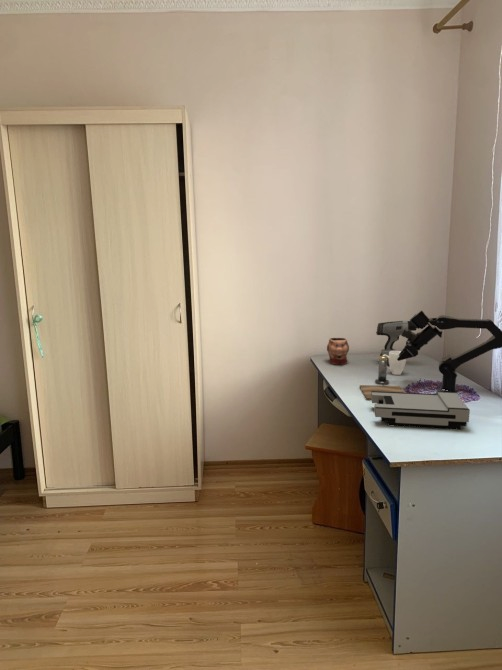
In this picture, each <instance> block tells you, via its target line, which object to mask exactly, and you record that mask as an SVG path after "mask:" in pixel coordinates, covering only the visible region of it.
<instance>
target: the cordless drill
mask: <svg viewBox="0 0 502 670" xmlns="http://www.w3.org/2000/svg"><path fill="white" fill-rule="evenodd" d="M376 327H377V328H376V331H375V333H376V335H377V336H386V337H387V341H386V342H385V345H384V348H383V349H382V350H381V351H380V354H379V356H383V355H387V356H389V352H390V351H398V350H397V349H394V344H395V342H397V341H399V339H400V336H401V334H402V332H403V331H404V329H405V328H406V329H408V330H410V331H412V332H414V331H415V332H416V331H417V329H418V328H417V327H416V326H415V325H414V324H413V323H412V322H411V321H410V320H397V321H396V320H395V321H385V322H379V323H377V326H376ZM387 367H390V365H389V359H388V357H387Z"/></svg>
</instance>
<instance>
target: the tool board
mask: <svg viewBox="0 0 502 670" xmlns="http://www.w3.org/2000/svg"><path fill="white" fill-rule="evenodd" d="M359 390H360V391H361V393H362V395H363V397H364V399H365V401H371V391H380V392H401V393H406V392H405V390H403V389H402V387H401V386H400V385H378V384H376V385H374V384H373V385H371V384H370V385H369V384H368V385H367V384H364V385H363V384H362V385H361V384H360V385H359Z"/></svg>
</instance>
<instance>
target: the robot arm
mask: <svg viewBox="0 0 502 670" xmlns="http://www.w3.org/2000/svg"><path fill="white" fill-rule="evenodd" d="M409 321H411V322H412V323H413V324H414V325H415V326H416V327H417V329H418V330H421V331H420V332H417V333H415V332H414V331H410V330H408V329H406V328H405V329H404V331H403V332H402V334H401V335H400V336H401V337H402V338H406V341H405V345H404V348H403V349H402V350H400V351H401V352H400V354H399V357H398V359H397V360H398V361H400V360H404V359H406V360H407V359H411V358H415V357H417V356H418V355H419V351H420V350H421V349H422V348H423V347H424V346H426V345H428V343H429V342H430V341H432V340H433V339H434V338H435V337H437V336H438V337H439V338H440V339H441V338H443V337H442V336H443V330H445V331H446V330H451V329H458V328H462V329H483V330H484V329H485V330H487V331H488V332H490V334H491V337H489V338H488V339H487V340H486V341H484V342H482V343H480V344H477V345H476V346H473V347H472V348H470V349H468V350H466V351H464V352H462V353H460V354H458V355H456V356H452V355H451V354H448V355H447V356H446V357H442V358H441V360H440V361H439V362H438V370H439V372H440V373H441V374H442V379H441V382H442V383H441V385H439V386H438V387H440V388H439V389H440V390H442V389H445V390H448V391H447V392H459V390H458V389H457V388H456V386H457V376H458V372H457V370H456V369H458V368H459V367H460V366H461V365H463V364H465V363H467V362H469V361H471V360H474V359H475V358H478V357H479V356H482V355H483V354H485V353H487V352H490V351H492V350H497V349H501V348H502V329H500V328H499V327H498V326H497V325H496V324H495V322H494V321H493V320H492V319H491V318H487V319H484V318H482V319H481V318H478V319H477V318H458V317H457V318H456V317H455V316H454V317H453V316H449V315H443V314H442V315H439V316H437V317H431V318H430V317H428V315H426V313H425V312H424V311H423V310H420V311H419V312H417V313H415V314H414V315H413V316H412V317H411V318H410V319H409Z"/></svg>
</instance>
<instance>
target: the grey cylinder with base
mask: <svg viewBox="0 0 502 670" xmlns="http://www.w3.org/2000/svg"><path fill="white" fill-rule="evenodd" d="M387 367H388V366H387V356H380V355H379V357H378V372H377V373H378V374H377V375H378V376H377V377H378V378H376V379H375V380H374V383H375V384H376V385H380V386H389V384H390V380H388V379H387V374H388V368H387Z"/></svg>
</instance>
